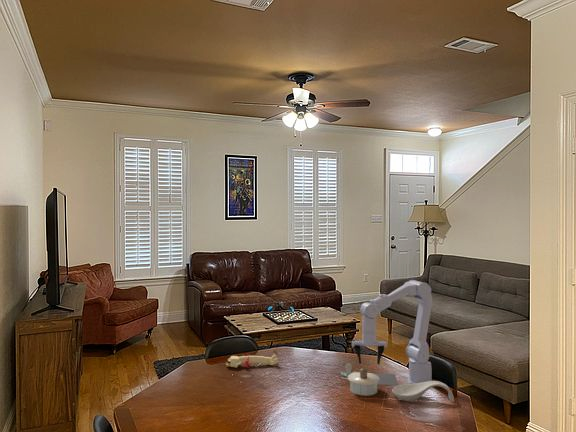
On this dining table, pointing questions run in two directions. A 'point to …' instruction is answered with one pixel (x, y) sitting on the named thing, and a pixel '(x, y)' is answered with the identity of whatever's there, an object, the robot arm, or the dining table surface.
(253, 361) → the cream plush toy
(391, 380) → the mat
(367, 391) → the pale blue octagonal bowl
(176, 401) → the dining table surface
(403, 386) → the spoon rest
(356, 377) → the lid
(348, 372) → the pacifier
